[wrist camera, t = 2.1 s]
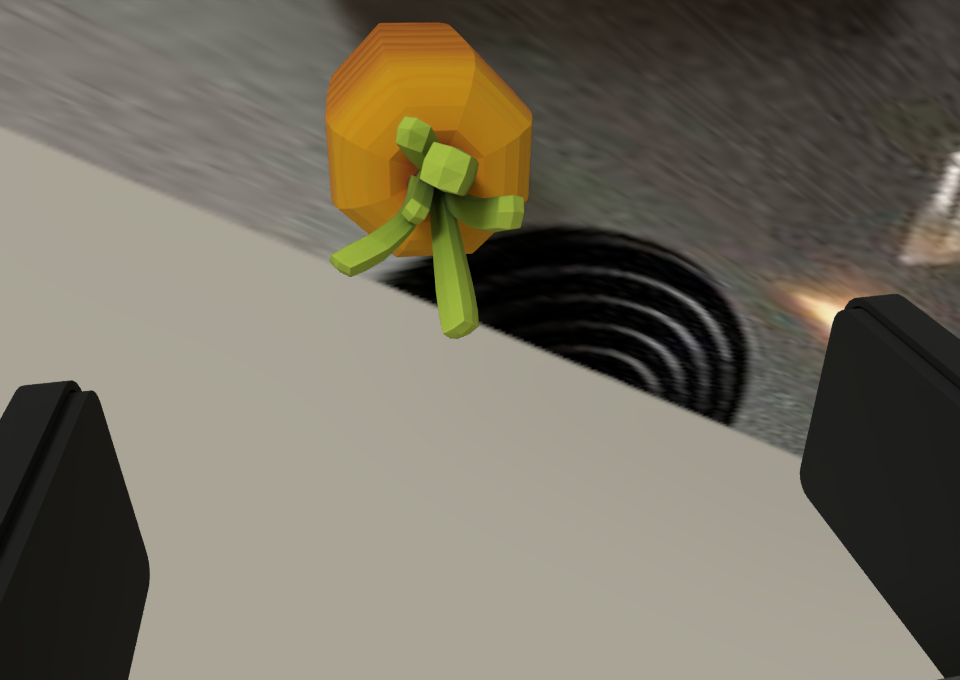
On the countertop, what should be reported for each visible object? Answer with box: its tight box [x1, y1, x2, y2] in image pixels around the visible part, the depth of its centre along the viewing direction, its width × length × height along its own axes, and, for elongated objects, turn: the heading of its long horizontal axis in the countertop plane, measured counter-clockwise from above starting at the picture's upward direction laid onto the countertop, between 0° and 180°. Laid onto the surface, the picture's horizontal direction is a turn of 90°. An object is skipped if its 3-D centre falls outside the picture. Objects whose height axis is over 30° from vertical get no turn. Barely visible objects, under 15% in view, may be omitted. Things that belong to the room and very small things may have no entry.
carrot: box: [325, 22, 533, 339], centre depth 21 cm, size 5×5×15 cm
